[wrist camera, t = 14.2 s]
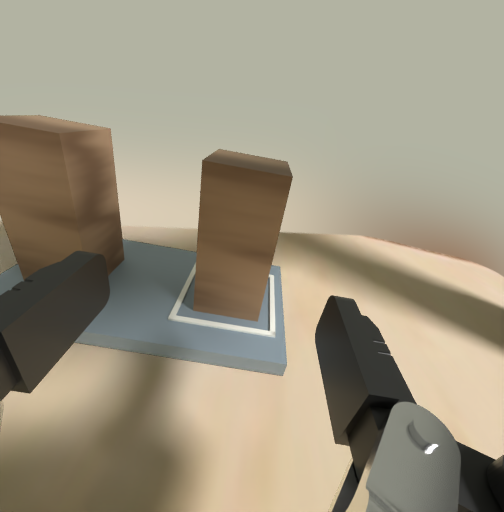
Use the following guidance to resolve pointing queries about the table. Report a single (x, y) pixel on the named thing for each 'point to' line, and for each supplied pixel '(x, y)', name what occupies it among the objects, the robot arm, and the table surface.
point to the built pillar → (58, 191)
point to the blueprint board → (179, 314)
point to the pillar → (238, 231)
